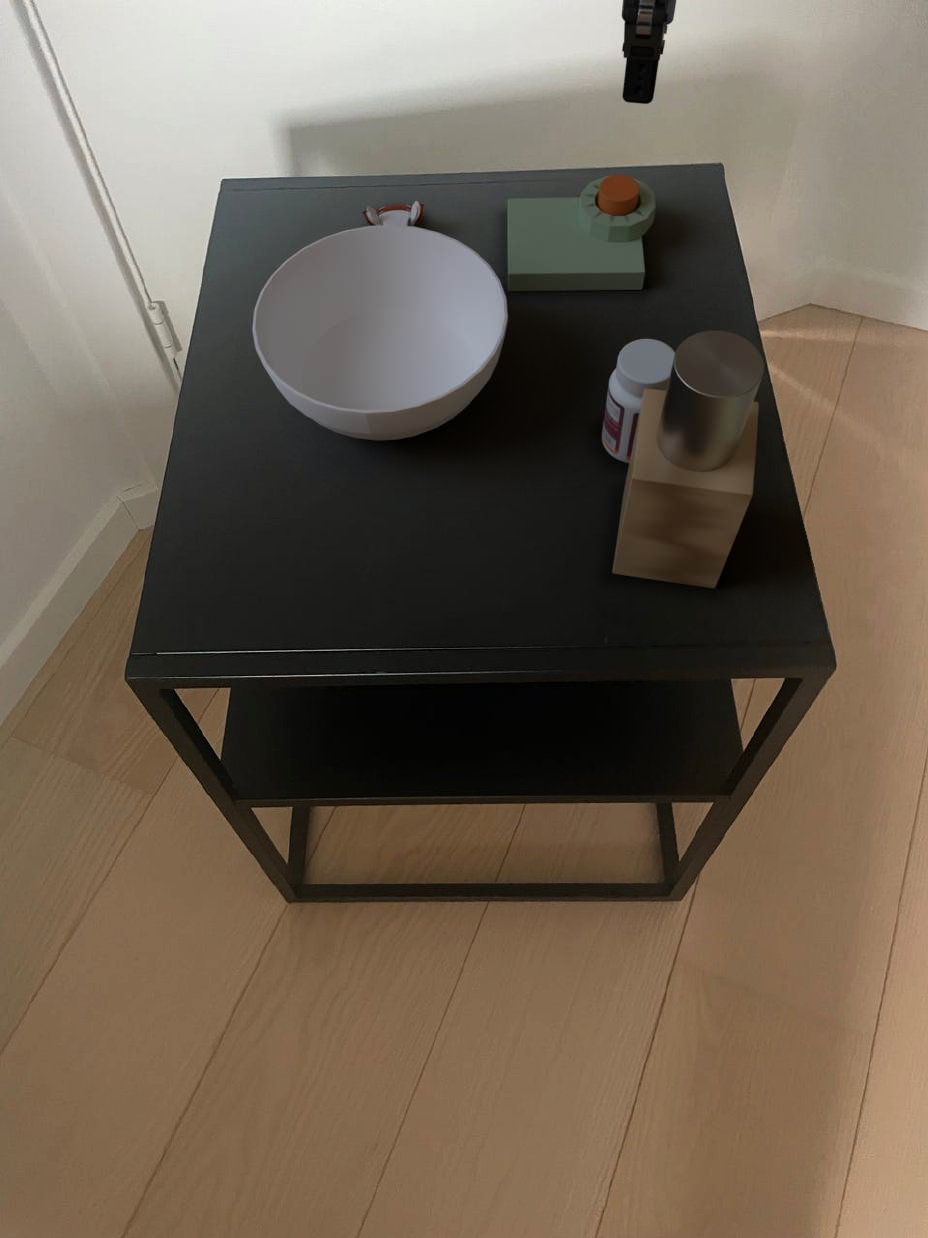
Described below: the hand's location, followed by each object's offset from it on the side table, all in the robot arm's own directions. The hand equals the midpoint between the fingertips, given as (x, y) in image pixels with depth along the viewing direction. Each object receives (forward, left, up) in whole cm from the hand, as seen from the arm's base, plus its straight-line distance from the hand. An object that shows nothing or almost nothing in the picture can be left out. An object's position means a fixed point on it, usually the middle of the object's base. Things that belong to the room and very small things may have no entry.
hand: (638, 96), depth 69 cm
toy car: (+19, +3, -13) cm, 23 cm away
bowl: (+16, +18, -13) cm, 27 cm away
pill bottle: (-3, +20, -13) cm, 25 cm away
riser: (-7, +29, -13) cm, 32 cm away
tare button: (+1, -1, -10) cm, 10 cm away
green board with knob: (+4, +2, -13) cm, 14 cm away
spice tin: (-7, +29, -2) cm, 30 cm away
